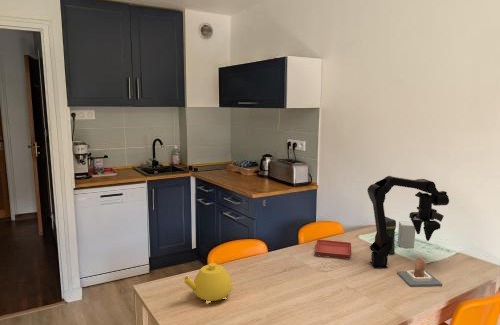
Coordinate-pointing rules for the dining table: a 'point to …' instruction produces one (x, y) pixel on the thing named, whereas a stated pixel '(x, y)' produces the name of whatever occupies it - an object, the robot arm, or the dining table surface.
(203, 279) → the teapot
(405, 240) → the supplement box
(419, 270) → the terracotta pin
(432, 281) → the board
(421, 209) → the robot arm
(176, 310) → the dining table surface
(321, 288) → the dining table surface
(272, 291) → the dining table surface
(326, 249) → the plant saucer
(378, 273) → the dining table surface
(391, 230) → the coffee jar
